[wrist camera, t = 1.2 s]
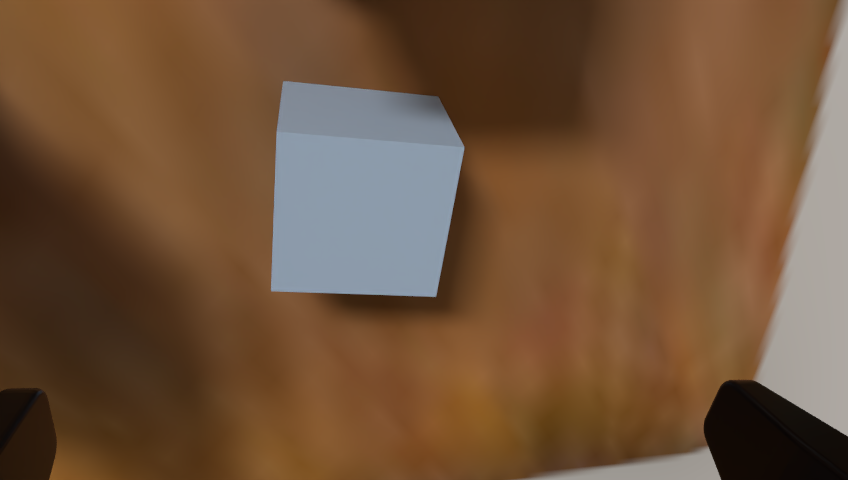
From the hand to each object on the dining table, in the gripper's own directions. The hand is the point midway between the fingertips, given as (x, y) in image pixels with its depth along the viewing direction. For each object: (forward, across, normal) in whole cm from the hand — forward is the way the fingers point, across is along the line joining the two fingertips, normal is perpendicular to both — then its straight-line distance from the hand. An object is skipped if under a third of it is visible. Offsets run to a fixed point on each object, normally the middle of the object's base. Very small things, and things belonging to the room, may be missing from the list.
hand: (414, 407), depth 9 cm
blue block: (+12, 0, +2) cm, 12 cm away
